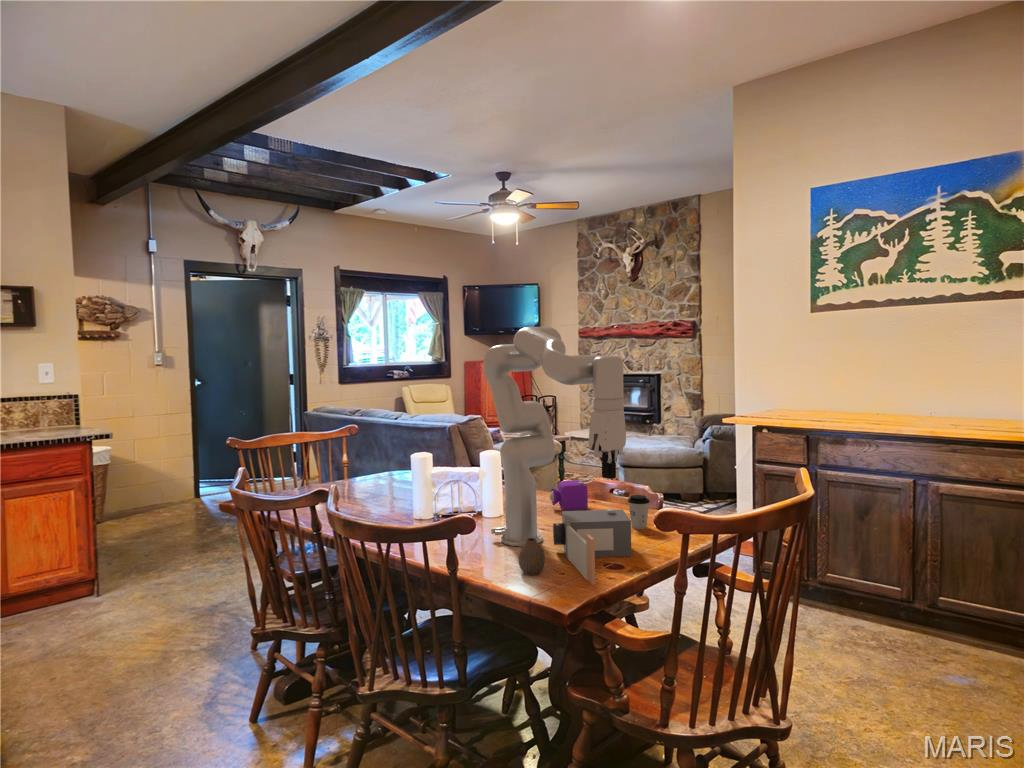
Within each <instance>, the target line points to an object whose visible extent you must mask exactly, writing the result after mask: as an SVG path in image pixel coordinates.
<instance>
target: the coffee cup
mask: <svg viewBox="0 0 1024 768" xmlns="http://www.w3.org/2000/svg"><path fill="white" fill-rule="evenodd" d="M627 502H628V507H629V508H628V509H629V516H630V517H629V518H630V520H631V529H633V530H646V529H647V527H648V516H649V506H650V503H651V501H650V499H649V498H647V496H646V495H643V494H633V495H630V496H629V498H628V500H627Z"/></svg>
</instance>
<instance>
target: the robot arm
mask: <svg viewBox="0 0 1024 768" xmlns="http://www.w3.org/2000/svg"><path fill="white" fill-rule="evenodd" d="M512 340H513V343H512V344H510V343H509V344H498V345H494V346H492V347H490V348H489V349H488V350H487V351H486V352H485V354H484V356H483V357H484V358H483V373H484V376H485V378H486V382H487V384H488V386H489V388H490V391H491V394H492V399H493V405H494V409H495V413H496V417H497V421H498V425H499V428H500V430H501V431H502V433H504V434H510V435H511V434H512V435H513V434H520V433H522V434H523V433H529V435H524V436H523V435H522V436H516V437H511V438H509V439H507V440H505V441H504V442H503V443H502V444H501V447H500V449H499V450H500V451H499V453H500V460H501V464H502V470H503V477H504V478H503V480H504V505H505V510H504V511H505V523H504V525H501V527H491V528H490V529H491V535H494V536H501V537H500V541H501V543H502V544H504V545H507V546H513V547H522V546H523V545H524V544H525V542H526V540H527V539H528V538H535V539H536V541H537V543H538V544H540V543H541V542H542V541H543V535H542V534H541V533H539V532H538V514H537V513H538V511H537V510H538V508H537V505H538V504H537V482H536V479H535V476H534V475H533V474H532V472H531V470H530V468H533V467H539V466H545V465H548V464H550V463H551V462H553V460H554V458H555V456H556V455H555V454H556V446H555V440H554V436H553V432H552V428H551V423H550V419H549V414H548V412H547V410H546V408H545V407H544V405H543V404H542V403H540V402H539V401H535V400H529V401H528V400H527V401H523V400H524V399H522V396H521V392H520V391H521V390H520V387H519V385H518V384H517V382H516V381H515V380H514V378H513V377H512V376H511V375H510V374H509V373H517V372H519V373H520V372H531V371H532V372H533V371H535V370H537V369H538V368H540V367H541V368H542V370H543V373H544V374H545V375H546V376H547V377H548V378H550V379H552V380H554V381H555V382H558V383H560V384H563V385H566V386H567V385H568V386H576V385H591V384H592V397H593V398H592V400H593V401H592V405H593V406H592V410H593V411H591V415H590V420H589V429H588V432H589V433H588V448H589V450H590V451H593V456H594V457H595V458H599V461H600V463H601V477H602V478H603V479H609V480H612V479H616V478H617V462H618V459H619V457H618V456H619V454H621V453H622V452H623V451H624V448H625V446H626V444H627V429H626V427H627V426H626V417H625V411H624V405H625V404H624V403H625V402H624V361H623V358H622V357H621V356H618V355H599V354H578V355H577V354H574V355H568V354H566V350H567V349H566V346H565V343H564V342H563V340H562V336H561V334H560V333H559V331H558V330H557V329H555V328H553V327H550V326H525V327H523V328H520V329H519V330H517V331H516V333H515V334H514V336H513V339H512Z"/></svg>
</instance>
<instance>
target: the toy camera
mask: <svg viewBox="0 0 1024 768" xmlns="http://www.w3.org/2000/svg"><path fill="white" fill-rule="evenodd" d="M588 492H589V491H588V486H587V484H586V483H585V482H583V481H582V480H562V481H559V482H558V484H557V489H556V488H554V487H551V489H550V493H549V499H550V501H551V504H552V506H555V505H556V504H559V506H560V508H561V509H562V511H586V510H587V509H588V506H589V500H588V499H589V497H588V495H589V494H588Z"/></svg>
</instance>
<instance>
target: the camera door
mask: <svg viewBox="0 0 1024 768" xmlns="http://www.w3.org/2000/svg"><path fill="white" fill-rule="evenodd" d="M566 557H567V558H566ZM565 558H566V560H567V561H570V563H571V564H572V565H573V566H574V567H575V568H576V569H577V572H579V573H580V574H581V576H582V577H584V579H585V580H586V581H589V582H590V584H591V585H596V557H595V544H594V538H592V537H591V536H590V535H586V541H585V540H584V539H583V538H582V537H581V536H580V535H579V534H578V533H577V532H576V531H575V530H574V529H573V528H572V527H571V526H570V523H566V554H565Z"/></svg>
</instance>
